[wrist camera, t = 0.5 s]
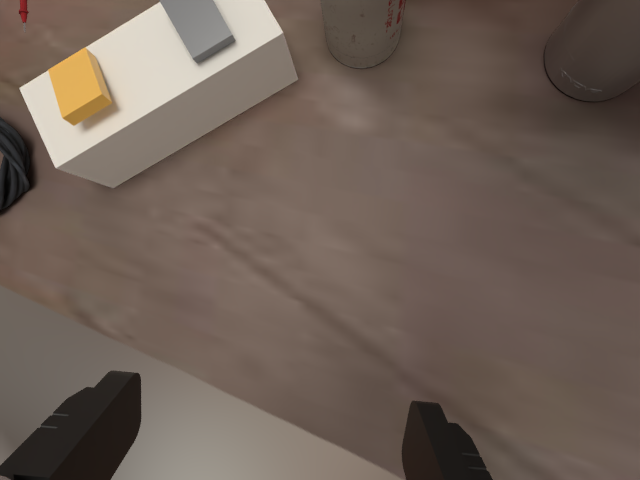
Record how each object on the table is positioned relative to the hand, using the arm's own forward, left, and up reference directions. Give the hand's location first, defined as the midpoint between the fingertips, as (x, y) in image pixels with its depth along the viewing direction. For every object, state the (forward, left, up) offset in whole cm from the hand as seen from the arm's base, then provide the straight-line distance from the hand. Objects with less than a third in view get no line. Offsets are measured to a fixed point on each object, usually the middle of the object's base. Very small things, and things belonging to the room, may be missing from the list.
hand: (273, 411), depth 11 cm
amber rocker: (-4, -30, -19) cm, 35 cm away
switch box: (-9, -27, -27) cm, 40 cm away
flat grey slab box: (-14, -25, -19) cm, 34 cm away
